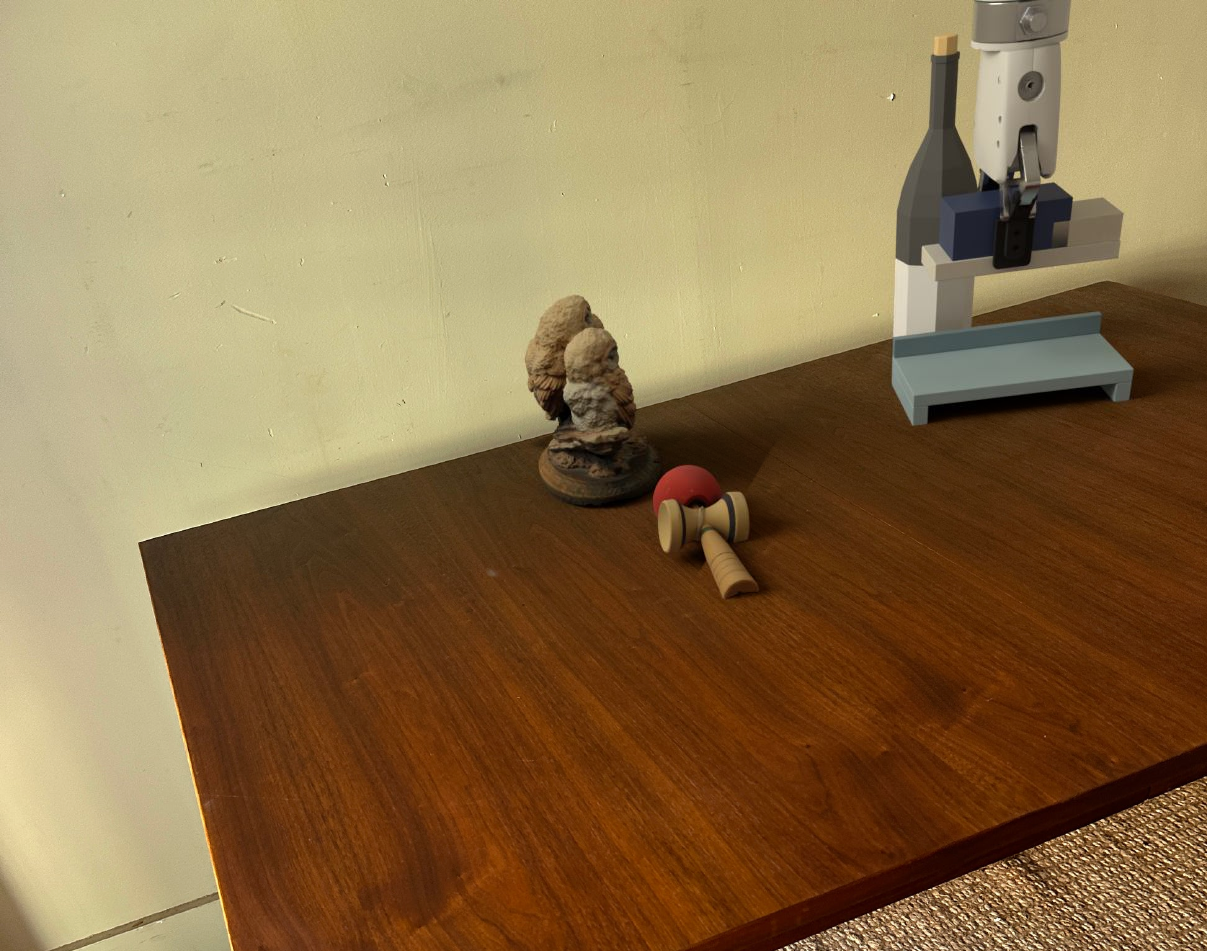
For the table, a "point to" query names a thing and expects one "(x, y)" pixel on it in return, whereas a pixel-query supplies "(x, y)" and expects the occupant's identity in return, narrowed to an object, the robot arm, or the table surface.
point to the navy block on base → (1057, 234)
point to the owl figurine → (587, 410)
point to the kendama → (704, 523)
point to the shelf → (1006, 362)
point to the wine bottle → (933, 209)
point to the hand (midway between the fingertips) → (1001, 253)
